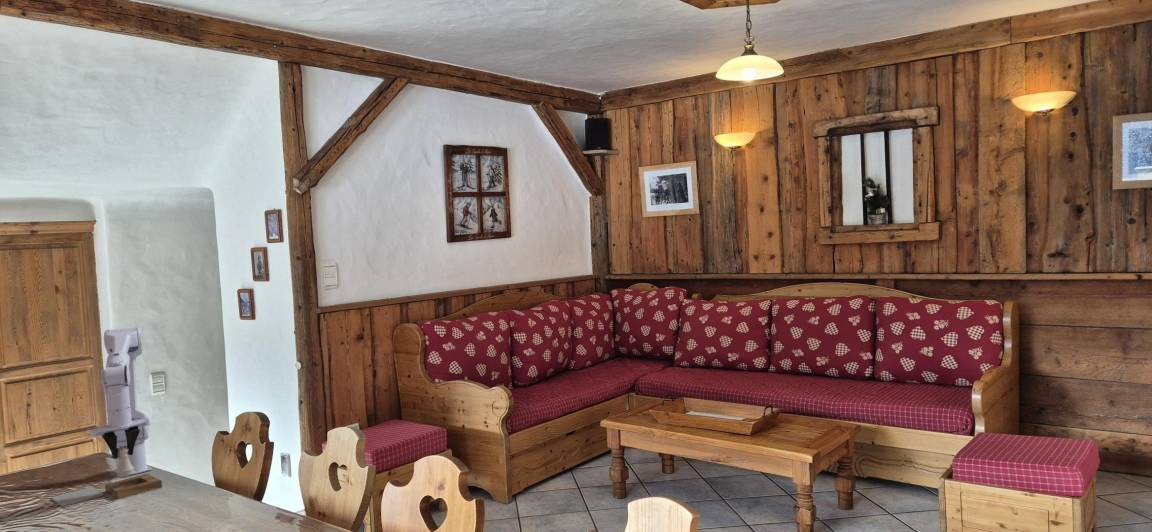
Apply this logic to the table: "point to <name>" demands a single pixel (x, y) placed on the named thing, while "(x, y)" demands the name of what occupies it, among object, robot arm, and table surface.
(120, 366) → the robot arm
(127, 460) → the rook chess piece
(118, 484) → the square wooden frame
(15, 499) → the table surface
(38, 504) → the table surface
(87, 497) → the slate mat
